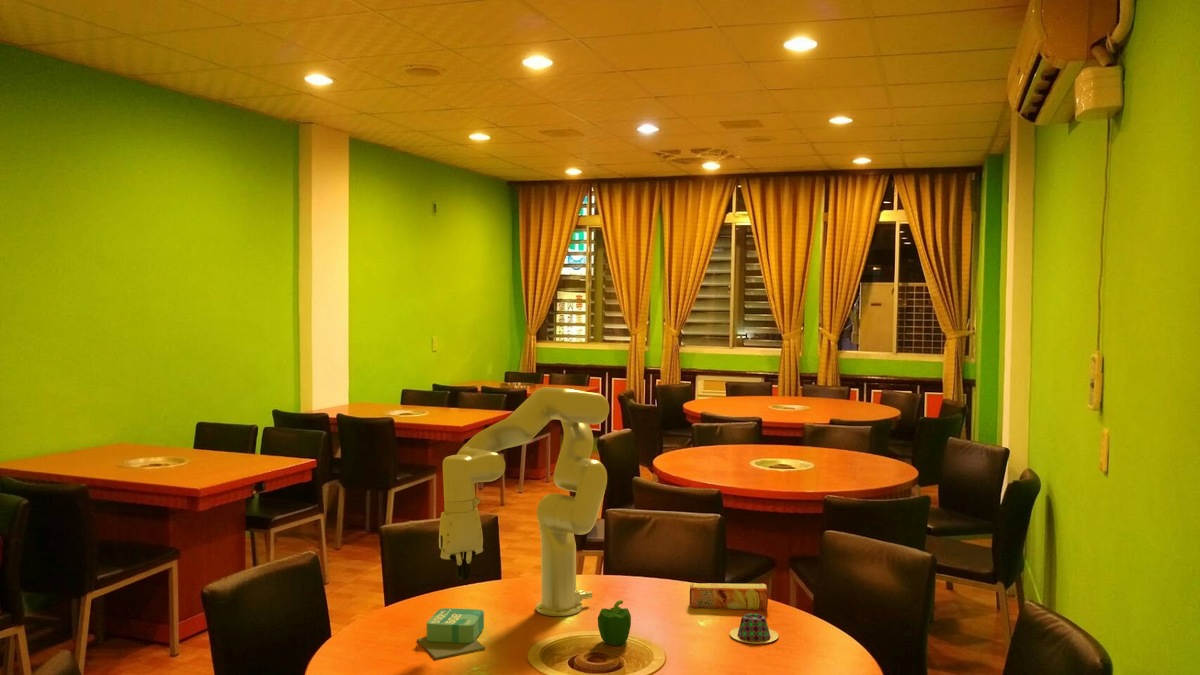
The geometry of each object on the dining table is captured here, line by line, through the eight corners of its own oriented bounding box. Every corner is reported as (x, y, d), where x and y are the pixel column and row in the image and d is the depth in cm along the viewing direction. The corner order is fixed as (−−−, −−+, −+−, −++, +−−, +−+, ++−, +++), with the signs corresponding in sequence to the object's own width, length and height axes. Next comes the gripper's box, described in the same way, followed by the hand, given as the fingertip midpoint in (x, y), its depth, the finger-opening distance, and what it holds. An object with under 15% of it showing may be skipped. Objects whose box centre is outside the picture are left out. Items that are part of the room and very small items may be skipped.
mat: (464, 631, 228) (464, 629, 228) (485, 649, 216) (485, 647, 216) (417, 640, 222) (417, 638, 222) (435, 659, 210) (435, 657, 210)
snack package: (689, 610, 244) (689, 585, 244) (690, 602, 250) (690, 578, 250) (768, 613, 240) (768, 588, 240) (767, 605, 247) (767, 581, 247)
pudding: (774, 628, 229) (774, 608, 229) (782, 646, 217) (782, 625, 217) (727, 628, 229) (727, 608, 229) (732, 646, 217) (732, 625, 217)
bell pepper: (608, 651, 214) (608, 609, 214) (592, 640, 222) (592, 600, 221) (638, 644, 218) (638, 604, 218) (622, 634, 225) (622, 595, 225)
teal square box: (471, 625, 218) (424, 623, 220) (472, 644, 218) (424, 641, 220) (485, 609, 230) (440, 607, 232) (485, 626, 230) (440, 624, 232)
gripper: (482, 498, 226) (485, 569, 227) (425, 507, 219) (429, 580, 220) (494, 504, 220) (497, 577, 221) (435, 513, 213) (439, 589, 214)
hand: (463, 578), depth 221 cm, fingers closed
